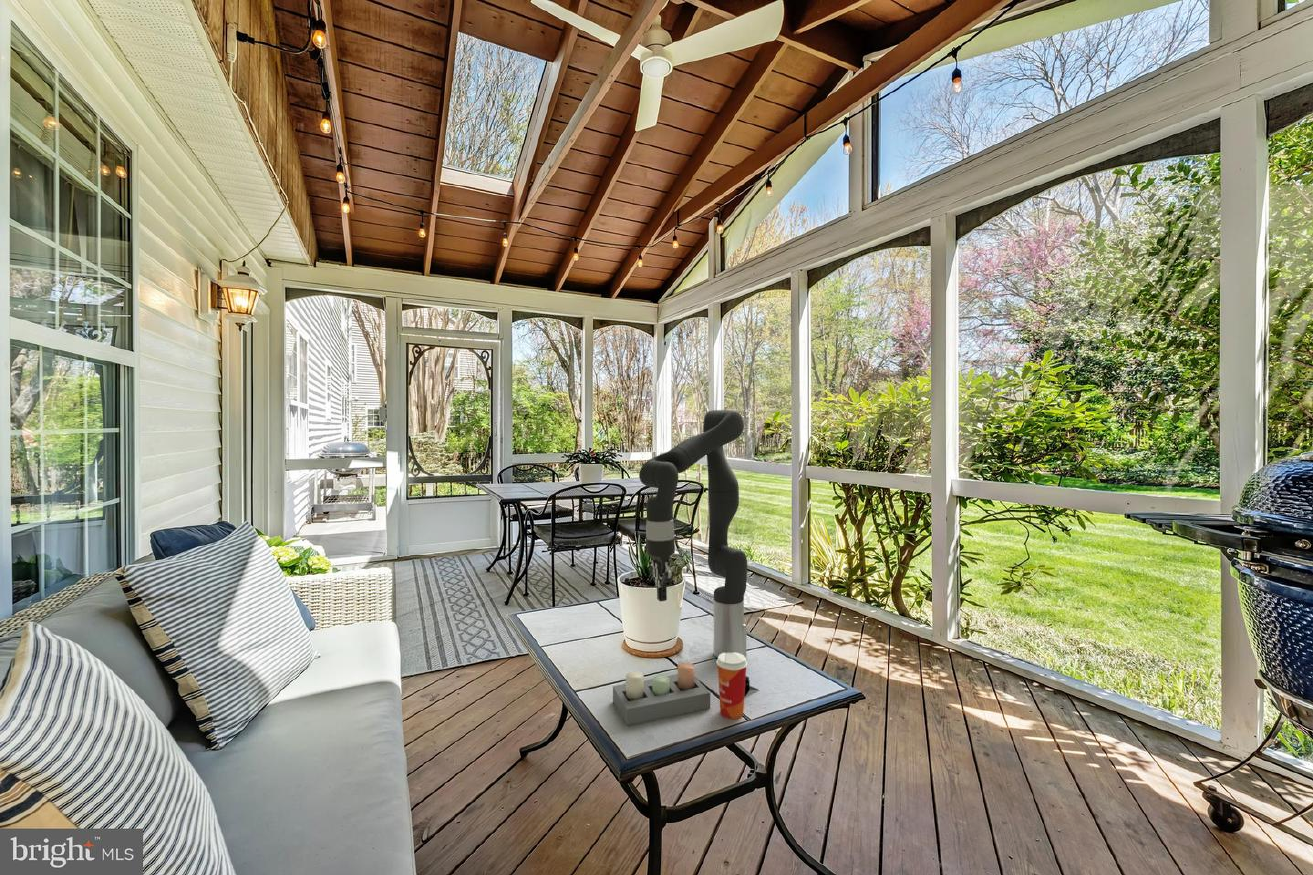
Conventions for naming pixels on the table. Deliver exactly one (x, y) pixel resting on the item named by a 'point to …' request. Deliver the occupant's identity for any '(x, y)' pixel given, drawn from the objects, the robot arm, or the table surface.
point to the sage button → (660, 685)
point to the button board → (660, 702)
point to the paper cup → (731, 683)
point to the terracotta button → (686, 676)
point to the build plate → (749, 688)
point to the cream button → (634, 685)
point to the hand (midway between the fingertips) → (661, 600)
